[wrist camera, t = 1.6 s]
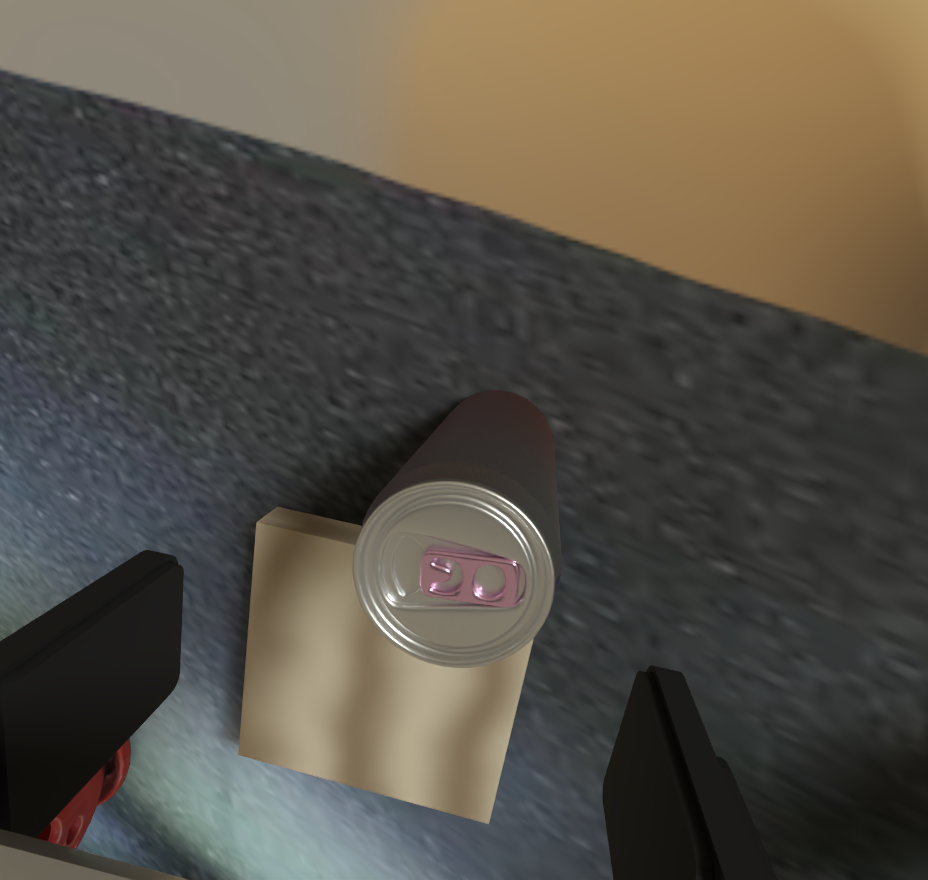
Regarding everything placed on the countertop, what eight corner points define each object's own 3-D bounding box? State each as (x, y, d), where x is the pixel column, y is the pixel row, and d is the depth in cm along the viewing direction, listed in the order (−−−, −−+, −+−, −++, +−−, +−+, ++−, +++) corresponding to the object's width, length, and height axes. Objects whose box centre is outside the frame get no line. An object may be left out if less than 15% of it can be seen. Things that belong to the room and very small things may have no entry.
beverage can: (547, 501, 29) (550, 690, 15) (439, 489, 30) (343, 658, 16) (559, 393, 28) (575, 488, 13) (446, 383, 29) (346, 462, 14)
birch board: (545, 567, 30) (545, 589, 28) (492, 789, 34) (488, 823, 32) (277, 506, 32) (256, 522, 29) (258, 726, 36) (238, 754, 34)
